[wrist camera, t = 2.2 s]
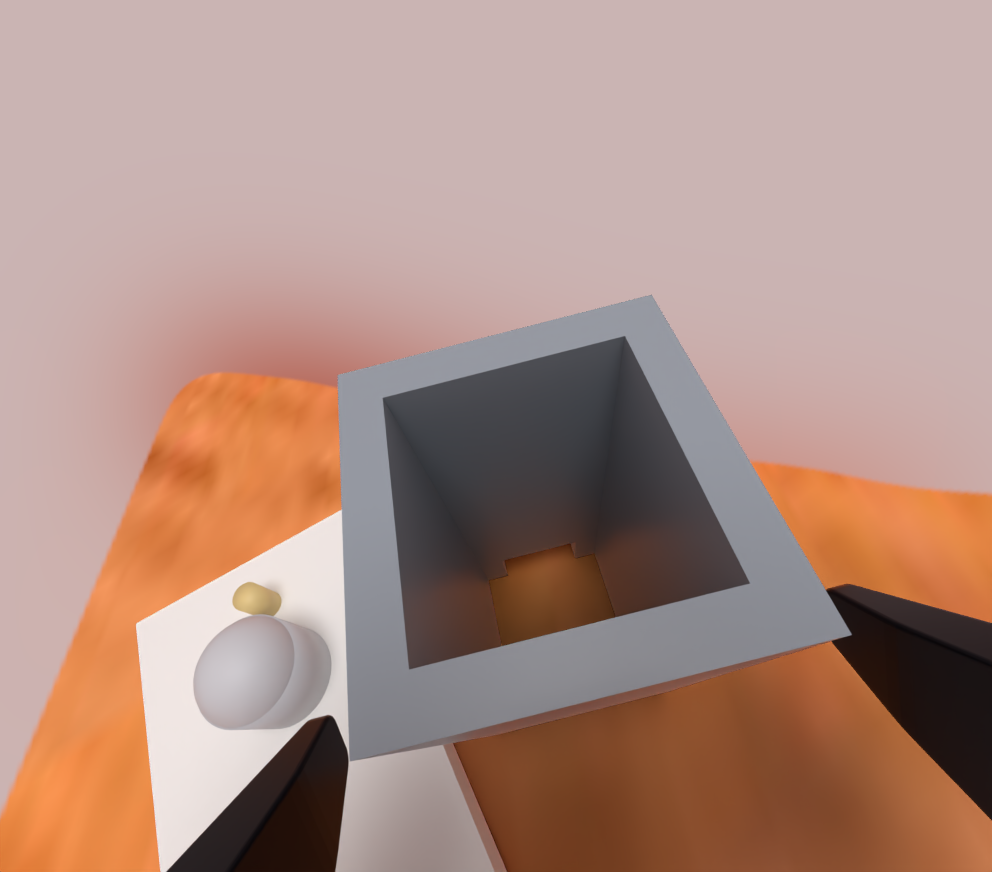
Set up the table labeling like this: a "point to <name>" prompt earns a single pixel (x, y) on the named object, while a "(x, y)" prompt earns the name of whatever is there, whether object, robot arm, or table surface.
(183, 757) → the post board
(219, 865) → the robot arm
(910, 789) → the table surface
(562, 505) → the sleeve
